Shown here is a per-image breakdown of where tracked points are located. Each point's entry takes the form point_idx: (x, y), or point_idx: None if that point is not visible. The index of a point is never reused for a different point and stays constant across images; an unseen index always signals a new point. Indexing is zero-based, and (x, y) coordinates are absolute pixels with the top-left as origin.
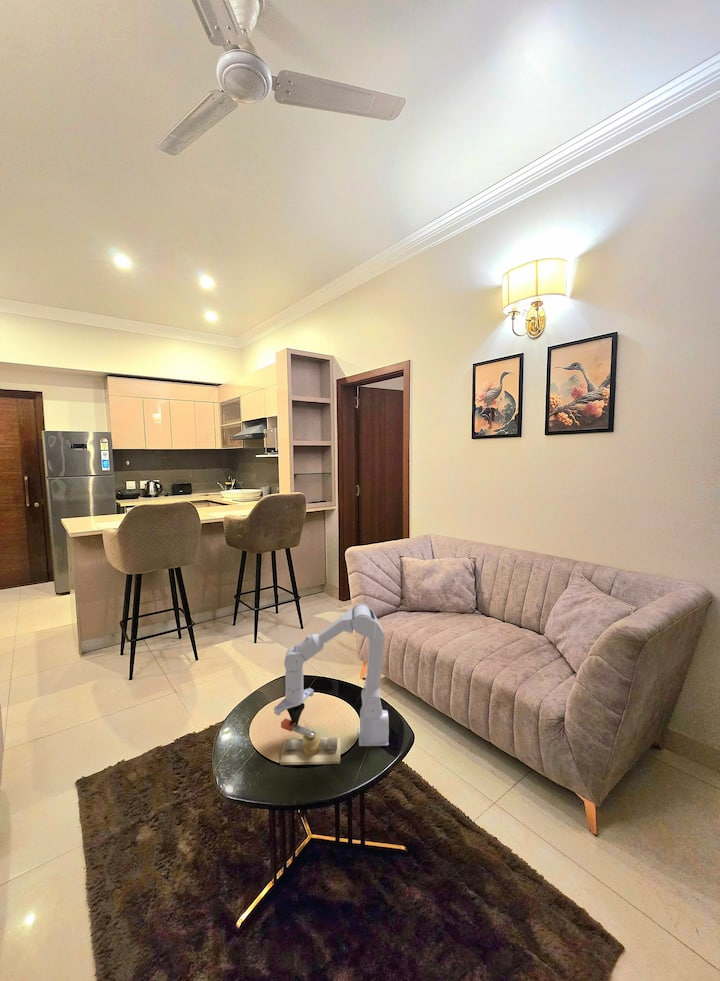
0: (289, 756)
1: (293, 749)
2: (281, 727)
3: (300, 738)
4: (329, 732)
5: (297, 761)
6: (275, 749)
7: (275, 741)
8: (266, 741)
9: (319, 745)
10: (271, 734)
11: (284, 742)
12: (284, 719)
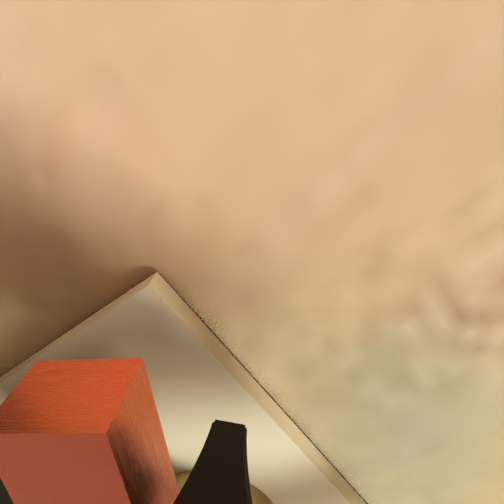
0: None
1: None
2: (36, 370)
3: (253, 400)
4: (485, 497)
5: None
6: (31, 265)
7: (94, 189)
8: (19, 101)
9: None
10: (131, 58)
11: (111, 317)
12: (72, 437)
